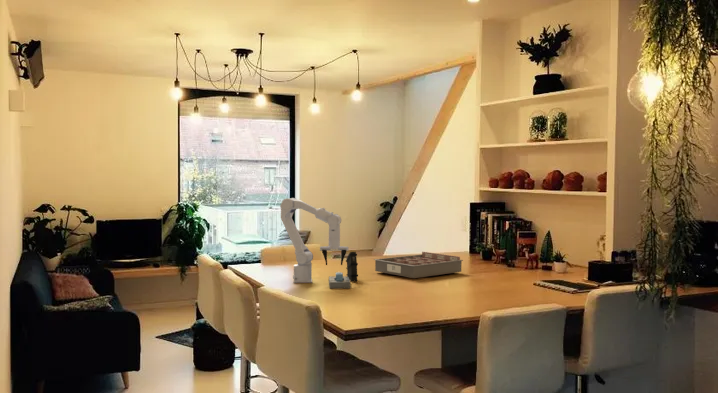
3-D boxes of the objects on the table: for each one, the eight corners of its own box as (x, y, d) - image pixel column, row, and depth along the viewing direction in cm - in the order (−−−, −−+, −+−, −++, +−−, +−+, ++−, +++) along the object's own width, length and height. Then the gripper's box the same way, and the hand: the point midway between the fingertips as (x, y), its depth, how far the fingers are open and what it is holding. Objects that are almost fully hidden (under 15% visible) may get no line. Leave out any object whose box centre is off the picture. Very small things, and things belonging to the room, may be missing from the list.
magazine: (352, 279, 312) (349, 251, 318) (347, 286, 324) (344, 259, 330) (359, 279, 313) (356, 251, 319) (354, 286, 325) (351, 259, 331)
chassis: (329, 288, 295) (329, 282, 295) (328, 282, 313) (328, 276, 313) (350, 288, 295) (350, 282, 295) (348, 282, 313) (348, 276, 313)
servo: (336, 287, 299) (336, 274, 298) (335, 283, 309) (335, 271, 309) (342, 287, 299) (343, 274, 299) (342, 283, 309) (342, 271, 309)
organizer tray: (373, 273, 345) (373, 255, 344) (422, 267, 370) (422, 251, 370) (413, 281, 320) (413, 262, 320) (463, 274, 346) (463, 256, 346)
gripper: (320, 238, 305) (319, 265, 305) (348, 239, 306) (348, 265, 306) (319, 237, 312) (319, 263, 312) (348, 237, 313) (347, 263, 313)
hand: (334, 264), depth 310 cm, fingers open, 7 cm apart
